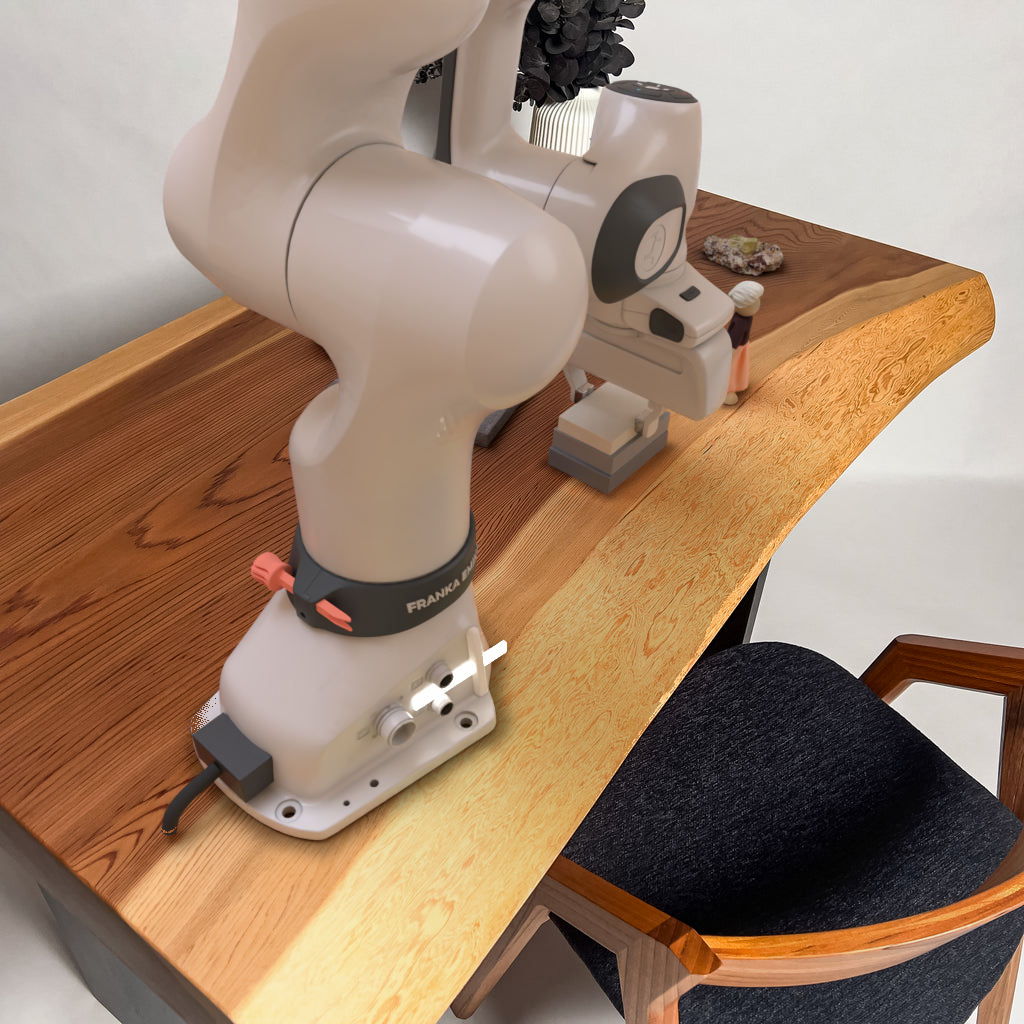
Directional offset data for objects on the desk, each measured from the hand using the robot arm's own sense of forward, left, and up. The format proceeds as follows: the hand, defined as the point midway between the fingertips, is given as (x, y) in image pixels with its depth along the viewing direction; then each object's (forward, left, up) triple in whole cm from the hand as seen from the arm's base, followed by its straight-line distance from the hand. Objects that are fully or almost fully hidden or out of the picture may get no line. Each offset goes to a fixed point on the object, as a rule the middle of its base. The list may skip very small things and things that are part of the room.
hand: (612, 417), depth 90 cm
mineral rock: (+46, +11, -5) cm, 47 cm away
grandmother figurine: (+18, -3, -5) cm, 19 cm away
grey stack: (0, 0, -4) cm, 5 cm away
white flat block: (0, 0, 0) cm, 1 cm away
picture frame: (-3, +20, -5) cm, 21 cm away
